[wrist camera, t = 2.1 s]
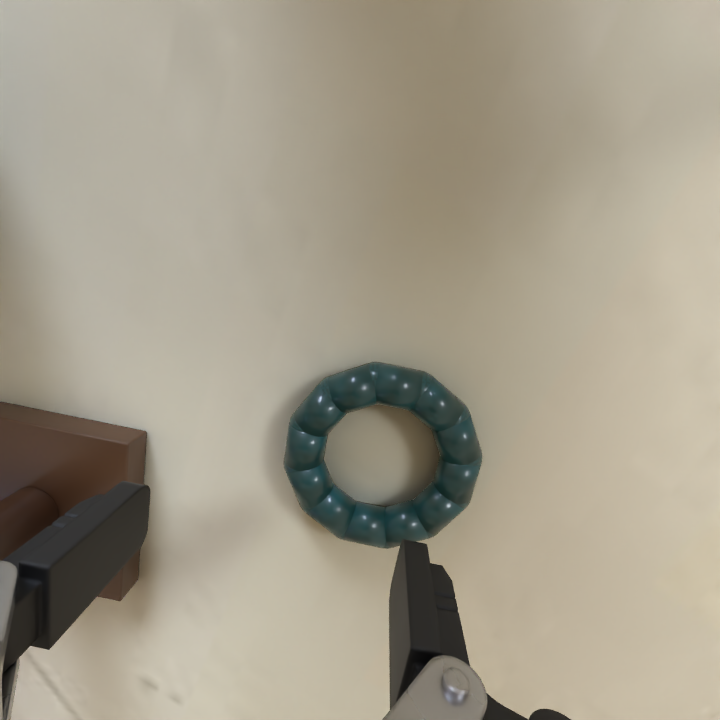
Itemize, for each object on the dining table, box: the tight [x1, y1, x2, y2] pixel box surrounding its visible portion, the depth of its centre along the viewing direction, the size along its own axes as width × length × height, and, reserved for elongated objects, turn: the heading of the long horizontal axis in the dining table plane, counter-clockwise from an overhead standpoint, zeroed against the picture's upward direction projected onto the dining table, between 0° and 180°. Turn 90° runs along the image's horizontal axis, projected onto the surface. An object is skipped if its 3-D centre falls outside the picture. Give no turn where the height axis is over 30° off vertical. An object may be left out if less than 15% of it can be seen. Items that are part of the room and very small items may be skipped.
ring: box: [284, 362, 482, 549], centre depth 18 cm, size 9×9×2 cm
